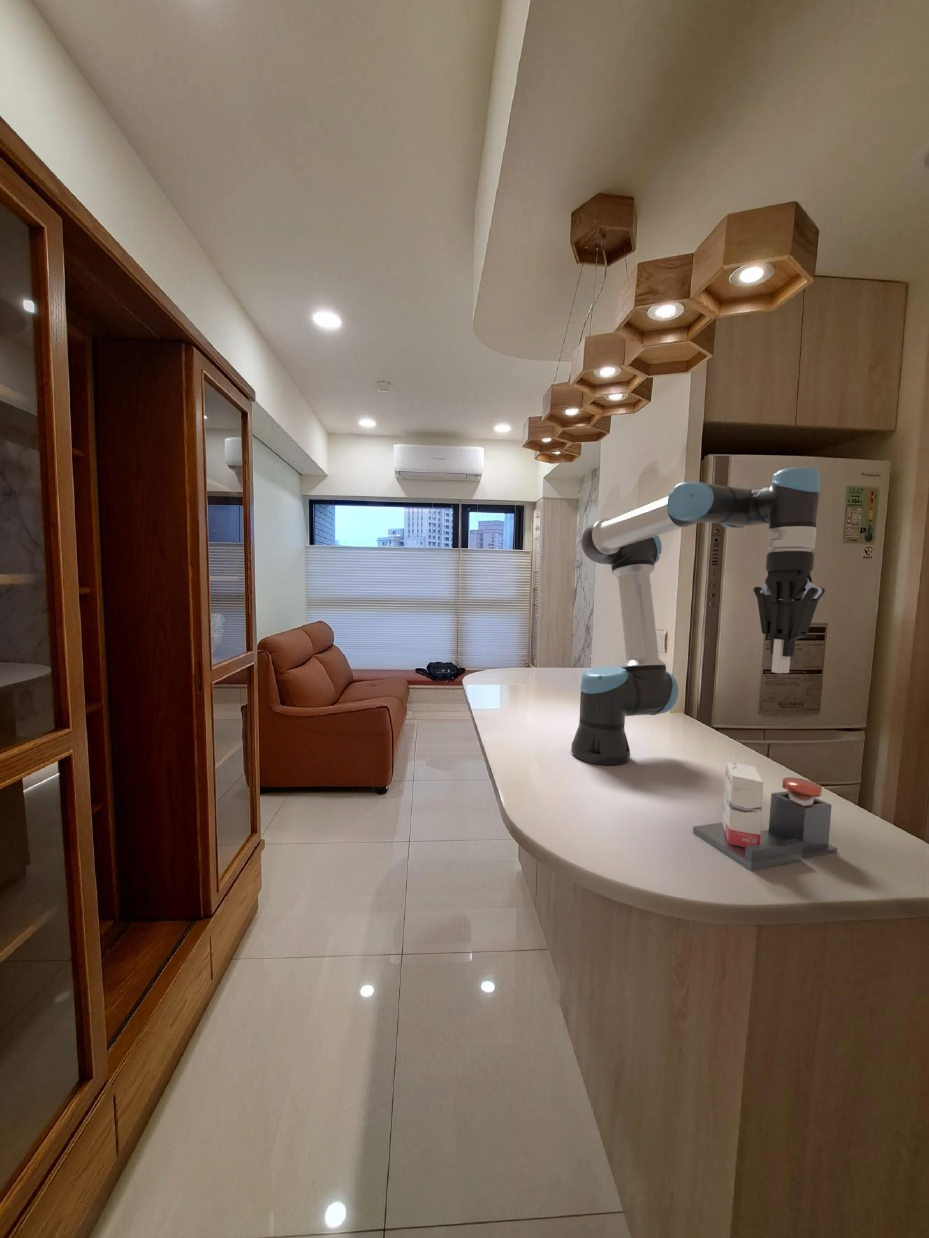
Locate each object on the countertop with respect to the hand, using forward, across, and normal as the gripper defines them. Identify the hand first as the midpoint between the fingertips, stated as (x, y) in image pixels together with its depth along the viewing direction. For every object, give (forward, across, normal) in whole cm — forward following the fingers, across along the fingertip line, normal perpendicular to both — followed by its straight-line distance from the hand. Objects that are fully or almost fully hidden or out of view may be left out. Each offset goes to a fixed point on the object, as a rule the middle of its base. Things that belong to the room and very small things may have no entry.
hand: (780, 672), depth 92 cm
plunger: (+27, +9, -5) cm, 29 cm away
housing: (+29, +10, -4) cm, 31 cm away
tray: (+29, +8, -15) cm, 34 cm away
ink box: (+28, +7, -15) cm, 32 cm away
